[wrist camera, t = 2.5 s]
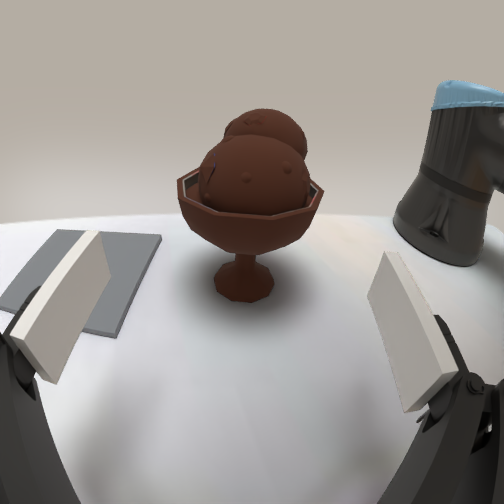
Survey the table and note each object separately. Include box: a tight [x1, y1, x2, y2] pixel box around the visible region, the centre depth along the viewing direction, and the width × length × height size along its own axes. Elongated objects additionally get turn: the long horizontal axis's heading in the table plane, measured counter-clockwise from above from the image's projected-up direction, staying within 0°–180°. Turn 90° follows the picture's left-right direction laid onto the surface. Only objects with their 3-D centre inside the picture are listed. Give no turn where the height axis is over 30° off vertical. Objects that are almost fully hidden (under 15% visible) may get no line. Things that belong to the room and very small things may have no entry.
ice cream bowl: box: [177, 109, 324, 303], centre depth 22 cm, size 11×11×15 cm
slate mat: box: [0, 229, 162, 338], centre depth 25 cm, size 15×14×1 cm
